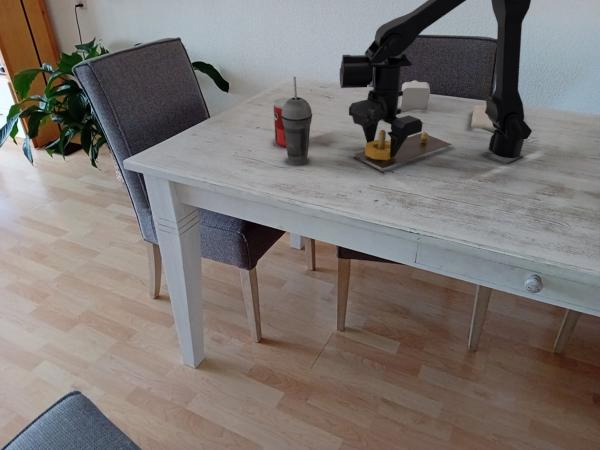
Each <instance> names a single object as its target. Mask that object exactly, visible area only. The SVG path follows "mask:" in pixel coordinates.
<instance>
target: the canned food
mask: <svg viewBox="0 0 600 450" xmlns="http://www.w3.org/2000/svg"><path fill="white" fill-rule="evenodd" d="M291 98H292V97H280V98H278V99H275V100H274V101H273V120H274V121H273V122H274V139H275V143H276V144H277V146H279V147H281V148H286V149H287V147H286V139H285V130H284V125H283V121H282V117H281V114H282V108H283V106H284V104H285V103H286V102H287V101H288V100H289V99H291Z"/></svg>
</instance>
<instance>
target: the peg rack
mask: <svg viewBox="0 0 600 450" xmlns="http://www.w3.org/2000/svg"><path fill="white" fill-rule="evenodd" d="M386 137H387V132H386V130H384V129H381V130H379V132H378V139H377V140H378V149H381V150H384V149H385V141H386ZM448 146H452V143H450V142H447V141H444V140H442V139H439V138H438V137H434V136H432V135H429V134H428V132H425V131H424V132H423V131H422V132H419V133H416V134H413V135H410V136H408V137H407V138H406V140H405V141H404V143H403V144H402V146H401V147H400V149H399V150H398V152H397V156H396V157H394V158H391V159H388V160H380V159H372V158H370V157H368V156H366V155H365V150H363V151H360V152H357V153H354V155H355V156H354V157H353V159H354V160H355V161H358V162H360V163H362V164H364V165H366V166H368V167H369V168H371V169H374V170H375V171H378V172H379V173H381V174H384V172H385V171H384V170H381V169H386V168H389V167H392V166H394V165H397V164H401V163H403V162H406V161H409V160H411V159H414V158H417V157H420V156H423V155H426V154H428V153H432V152H434V151H438V150H440V149H442V148H446V147H448ZM356 156H357V157H359V158H357V157H356ZM360 158H361V159H362V160H361V159H360ZM363 160H365V161H363ZM366 161H367V162H369V163H371V164H373V165H374V166H373V165H371V164H369V163H367V162H366ZM375 166H376V167H375ZM377 167H378V168H377ZM379 168H380V169H379Z"/></svg>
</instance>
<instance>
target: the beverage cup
mask: <svg viewBox="0 0 600 450" xmlns="http://www.w3.org/2000/svg"><path fill="white" fill-rule="evenodd" d="M296 78H297V77H296V76H293V93H294V96H293V97H290V98H291V99H289V100H288V101H287V102H286V103H285V104H284V106H283V108H282V114H281V117H282V121H283V125H284V130H285V139H286V147H287V148H286V147H285V148H286V154H287V160H288V163H289V164H290V165H293V166H302V165H305V164H306V163H307V162H308V157H309V156H308V155H309V146H310V131H311V124H312V120H313V111H312V108H311V105H310V104H309V102H308V100H306V99H304V98H303V97H299V96H297V95H298V94H297V79H296Z"/></svg>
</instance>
